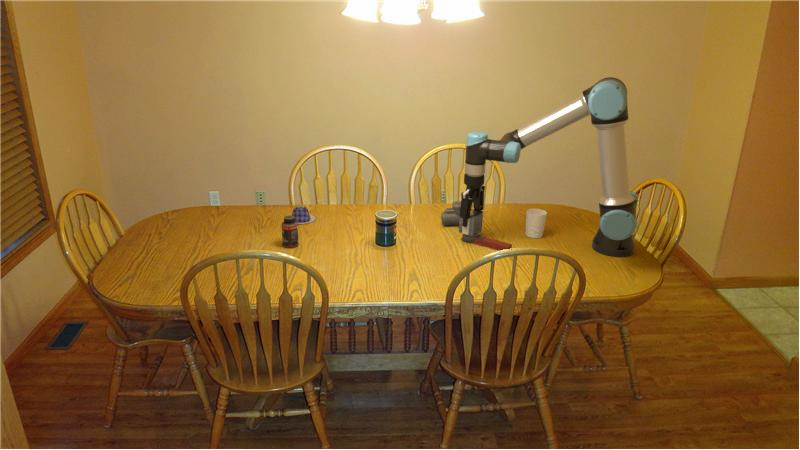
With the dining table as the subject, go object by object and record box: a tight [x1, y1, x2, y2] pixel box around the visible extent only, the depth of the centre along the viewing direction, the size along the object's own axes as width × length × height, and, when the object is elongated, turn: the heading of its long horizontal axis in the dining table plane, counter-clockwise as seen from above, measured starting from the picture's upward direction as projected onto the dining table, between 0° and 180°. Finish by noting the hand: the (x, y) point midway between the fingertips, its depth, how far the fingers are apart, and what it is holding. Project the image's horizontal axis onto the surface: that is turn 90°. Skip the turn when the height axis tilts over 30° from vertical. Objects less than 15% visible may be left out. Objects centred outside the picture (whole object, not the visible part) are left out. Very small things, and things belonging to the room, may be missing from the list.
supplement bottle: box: [281, 214, 300, 249], centre depth 217 cm, size 6×6×11 cm
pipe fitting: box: [440, 200, 461, 227], centre depth 241 cm, size 12×8×10 cm
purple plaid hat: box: [291, 206, 316, 225], centre depth 244 cm, size 12×12×5 cm
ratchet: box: [461, 233, 513, 251], centre depth 222 cm, size 20×6×7 cm, turn 53°
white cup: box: [525, 208, 548, 239], centre depth 232 cm, size 8×8×10 cm
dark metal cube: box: [458, 208, 484, 236], centre depth 225 cm, size 6×6×8 cm
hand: (470, 231), depth 226 cm, fingers closed on dark metal cube, 6 cm apart
